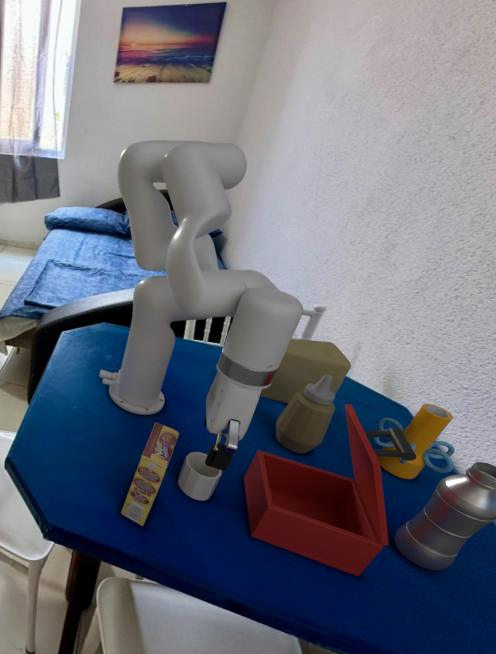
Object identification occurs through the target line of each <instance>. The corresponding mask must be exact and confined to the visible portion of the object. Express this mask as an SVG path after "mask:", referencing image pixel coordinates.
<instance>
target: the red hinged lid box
mask: <svg viewBox="0 0 496 654" xmlns="http://www.w3.org/2000/svg"><path fill="white" fill-rule="evenodd" d="M243 481H244V482H243V483H244V490H245V491H244V492H245V498H246V507H247V514H248V521H249V523H248V524H249V529H250V537H253V538H254V539H258V540H260V541H263V542H266V543H268V544H270V545H273V546H276V547H279V548H280V549H281V548H282V549H284V550H287V551H289V552H292V553H295V554H296V555H300V556H303V557H305V558H308V559H310V560H313V561H316V562H319V563H321V564H324V565H326V566H329V567H332V568H334V569H337V570H340V571H342V572H345V573H348V574H350V575H353V576H355V577H359V576H361V574H362V573H363V571H365V570H366V569H367V567H368V566H369V565H370V563H371V562H372V561H373V560H374V559H375V558H376V557H377V555H379V553H380V552H381V551H382V550H383V548H384V545H382V544H381V542H380V540H379V537H378V535H377V532H376V530H375V528H374V525H373V523H372V520H371V518H370V515H369V513H368V510H367V508H366V505H365V503H364V501H363V498H362V496H361V493H360V491H359V488H358V486H357V483H356V481H355V478H351V477H346V476H344V475H341V474H337V473H334V472H331V471H328V470H324V469H321V468H318V467H315V466H312V465H308V464H305V463H302V462H299V461H295V460H292V459H288V458H286V457H282V456H279V455H276V454H273V453H270V452H269V453H268V452H266V451H263V450H260V449H258V450H257V452H256V454H255V456H254V457H253V459H252V462H251V463H250V465H249V467H248V470H247V471H246V474H245V475H244V477H243Z"/></svg>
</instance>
